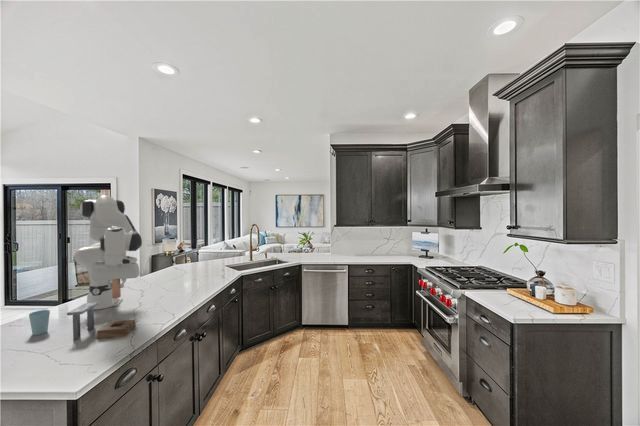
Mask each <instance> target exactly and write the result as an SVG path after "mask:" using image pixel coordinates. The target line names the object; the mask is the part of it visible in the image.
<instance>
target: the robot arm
mask: <svg viewBox="0 0 640 426" xmlns="http://www.w3.org/2000/svg"><path fill="white" fill-rule="evenodd" d="M125 210H126V206H125V204H124V201H122V200H119V199H114V198H113V197H112V196H111V195H100V196H99V197H98V198H96V199H85V200H82V201H81V204H80V205H79V212H80V214H81V216H83V217H85V218H90V222H89V237H90V239H91V240H92V241H95V242H97V243H98V242H99V245H97V246H96V245H94V246H86V247H81V248H78V249H77V250H76V251H75V252H74V255H73V258H74V261H75V262H76V264H78V265H80V266H82V267H83V268H84V269H85V270H86V272H87V273H88V276H89V277H88V278H89V288H88V290H89V291H88V294H87V295H86V303H95V302H98V305H97V306H95V307H94V311H95V310H102V309H103V310H104V309H107V308H111V307H115V306H119V304H120V303H121V302H122V301H123V297H119V298H112V279H120V280H121V281H122V282H121V283H120V285H119V286H120V287H119V288H120V289H124V288H125V283H126V282H127V280H128V279H136V278H139V276H140V275H141V274H140V265H139V263H137V262H138V258H137V257H133V256H130V255H127V252H136V251H137V250H139V249H140V248H141V247H142V244H143V239H142V237H141V235H140V234H139V232H138V231H137V230H136V228H135V226H134V225H133V222H132V221H131V219H130V218H129V216H128V215H126V214H125Z"/></svg>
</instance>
